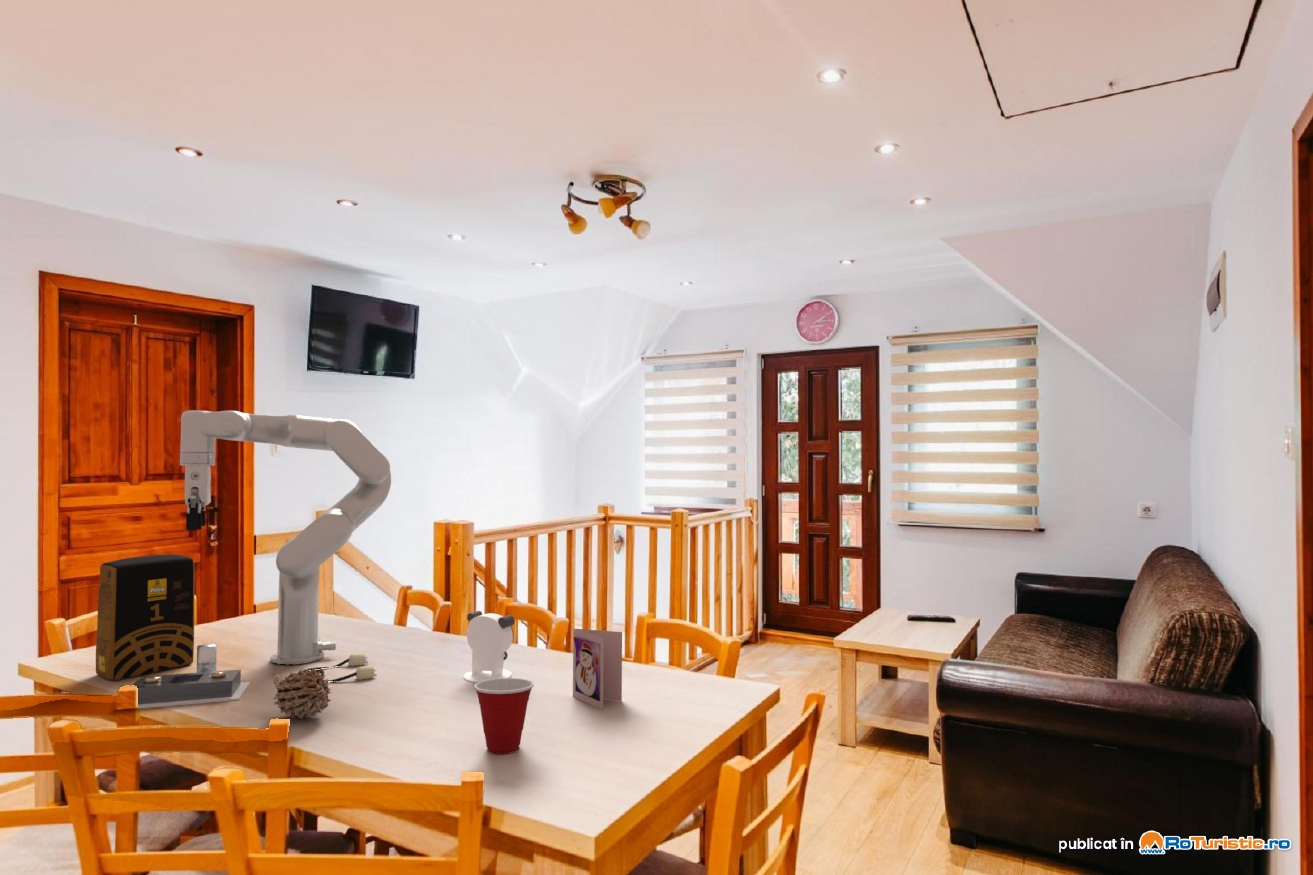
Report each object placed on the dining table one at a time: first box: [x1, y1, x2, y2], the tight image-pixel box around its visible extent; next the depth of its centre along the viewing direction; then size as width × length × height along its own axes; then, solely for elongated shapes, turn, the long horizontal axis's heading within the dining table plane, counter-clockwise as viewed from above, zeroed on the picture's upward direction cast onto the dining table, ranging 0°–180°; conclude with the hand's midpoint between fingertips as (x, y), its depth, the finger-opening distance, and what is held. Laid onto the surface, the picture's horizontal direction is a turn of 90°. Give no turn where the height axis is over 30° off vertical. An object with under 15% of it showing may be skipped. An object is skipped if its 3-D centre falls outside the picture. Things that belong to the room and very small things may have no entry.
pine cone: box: [272, 669, 333, 719], centre depth 154 cm, size 22×10×10 cm, turn 53°
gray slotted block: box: [131, 668, 242, 705], centre depth 165 cm, size 20×9×4 cm, turn 108°
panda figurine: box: [463, 610, 515, 684], centre depth 182 cm, size 12×11×15 cm
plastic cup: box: [473, 677, 535, 755], centre depth 137 cm, size 11×11×12 cm
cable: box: [302, 653, 378, 683], centre depth 182 cm, size 16×16×4 cm
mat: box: [137, 681, 251, 710], centre depth 165 cm, size 23×12×1 cm, turn 108°
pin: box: [196, 642, 218, 673], centre depth 178 cm, size 4×4×8 cm
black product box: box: [95, 553, 195, 682], centre depth 185 cm, size 11×19×28 cm, turn 147°
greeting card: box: [572, 628, 623, 711], centre depth 164 cm, size 11×7×15 cm, turn 40°
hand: (195, 528), depth 188 cm, fingers open, 9 cm apart
